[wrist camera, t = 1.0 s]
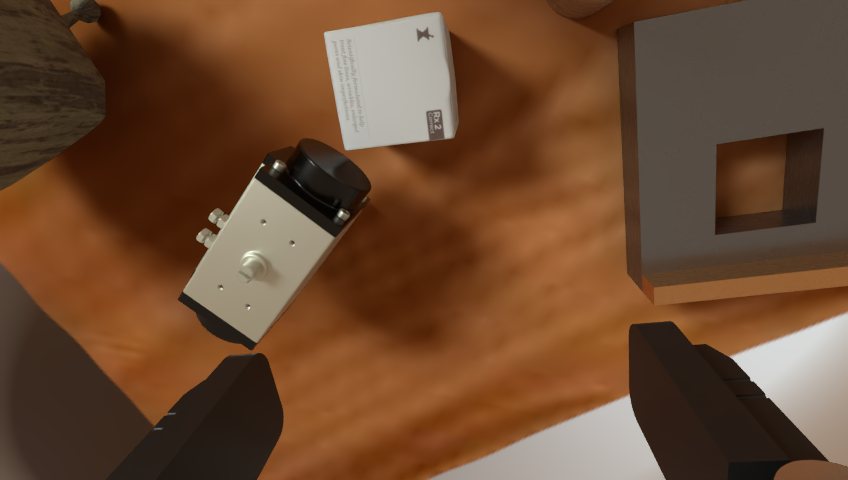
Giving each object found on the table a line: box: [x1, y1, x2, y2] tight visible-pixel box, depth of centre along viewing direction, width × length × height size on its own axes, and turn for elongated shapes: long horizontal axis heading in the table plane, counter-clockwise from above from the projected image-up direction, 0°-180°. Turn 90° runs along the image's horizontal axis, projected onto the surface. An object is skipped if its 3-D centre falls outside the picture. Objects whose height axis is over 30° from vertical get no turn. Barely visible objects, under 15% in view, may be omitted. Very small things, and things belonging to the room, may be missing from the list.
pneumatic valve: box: [178, 138, 371, 350], centre depth 27 cm, size 6×12×12 cm, turn 143°
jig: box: [617, 0, 848, 306], centre depth 26 cm, size 16×14×5 cm
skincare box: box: [324, 12, 459, 151], centre depth 26 cm, size 6×6×7 cm
